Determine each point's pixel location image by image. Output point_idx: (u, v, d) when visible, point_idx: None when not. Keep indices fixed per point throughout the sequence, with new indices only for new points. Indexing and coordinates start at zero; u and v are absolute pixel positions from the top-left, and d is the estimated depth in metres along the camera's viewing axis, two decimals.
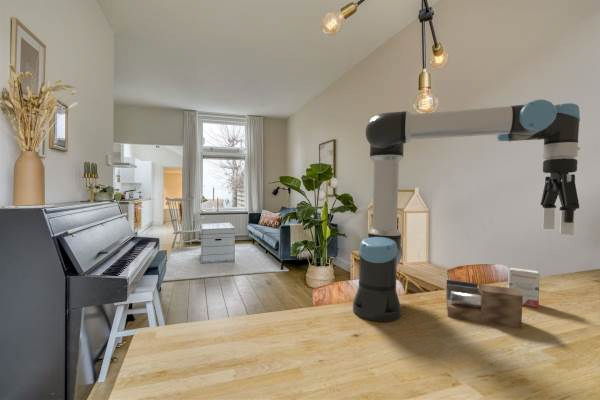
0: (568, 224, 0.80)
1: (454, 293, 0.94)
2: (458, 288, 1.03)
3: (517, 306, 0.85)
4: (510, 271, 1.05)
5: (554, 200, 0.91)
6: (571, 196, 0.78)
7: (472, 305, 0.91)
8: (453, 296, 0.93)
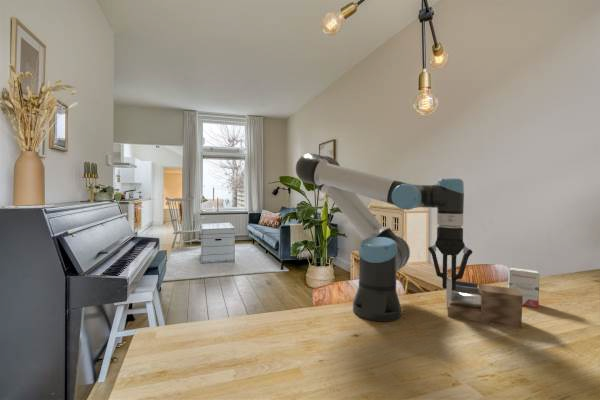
0: (446, 290, 0.95)
1: (454, 293, 0.94)
2: (458, 288, 1.03)
3: (517, 306, 0.85)
4: (510, 271, 1.05)
5: (451, 268, 0.94)
6: None
7: (472, 305, 0.91)
8: (453, 296, 0.93)
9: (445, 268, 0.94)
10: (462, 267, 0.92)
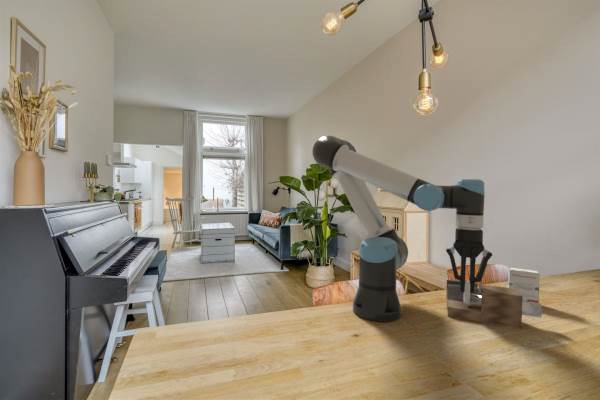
0: (464, 293, 0.93)
1: (472, 296, 0.92)
2: (458, 288, 1.03)
3: (517, 306, 0.85)
4: (510, 271, 1.05)
5: (470, 271, 0.92)
6: (452, 268, 0.95)
7: None
8: (471, 299, 0.91)
9: (463, 271, 0.92)
10: (481, 270, 0.90)
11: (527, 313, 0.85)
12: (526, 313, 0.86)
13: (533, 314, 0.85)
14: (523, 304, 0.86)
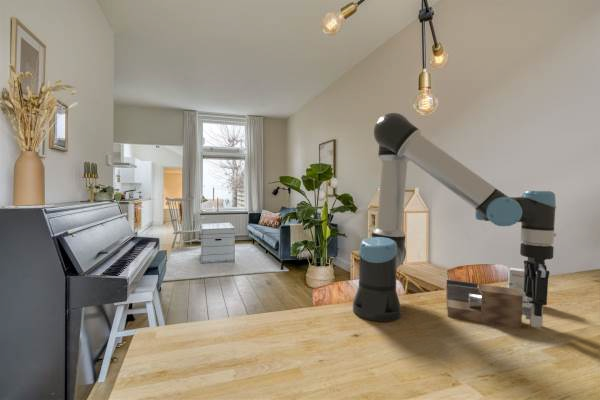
0: (537, 316, 0.84)
1: (472, 296, 0.92)
2: (458, 288, 1.03)
3: (517, 306, 0.85)
4: (510, 271, 1.05)
5: None
6: (541, 293, 0.81)
7: None
8: (471, 299, 0.91)
9: None
10: None
11: (527, 313, 0.85)
12: (526, 313, 0.86)
13: None
14: (523, 303, 0.86)
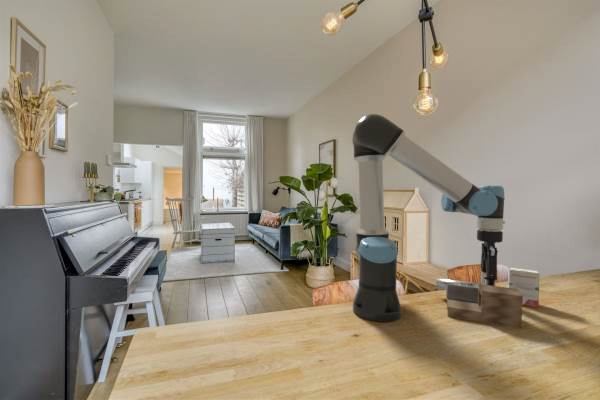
0: None
1: (438, 279, 1.08)
2: (458, 288, 1.03)
3: (517, 306, 0.85)
4: (510, 271, 1.05)
5: None
6: (492, 269, 0.96)
7: None
8: (438, 282, 1.08)
9: None
10: None
11: None
12: None
13: None
14: None
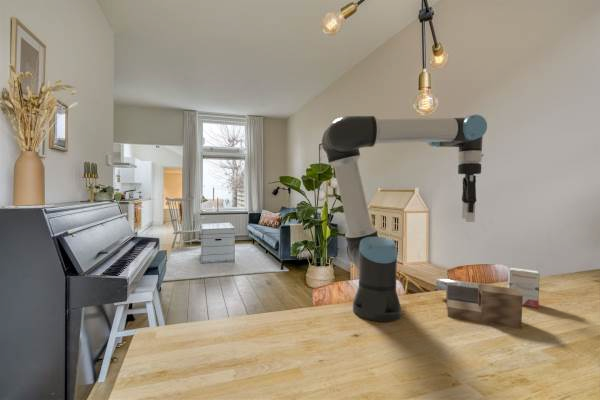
0: (471, 214, 1.03)
1: (439, 280, 1.08)
2: (458, 288, 1.03)
3: (517, 306, 0.85)
4: (510, 271, 1.05)
5: None
6: (471, 192, 1.02)
7: None
8: (438, 283, 1.07)
9: None
10: None
11: None
12: None
13: None
14: None
